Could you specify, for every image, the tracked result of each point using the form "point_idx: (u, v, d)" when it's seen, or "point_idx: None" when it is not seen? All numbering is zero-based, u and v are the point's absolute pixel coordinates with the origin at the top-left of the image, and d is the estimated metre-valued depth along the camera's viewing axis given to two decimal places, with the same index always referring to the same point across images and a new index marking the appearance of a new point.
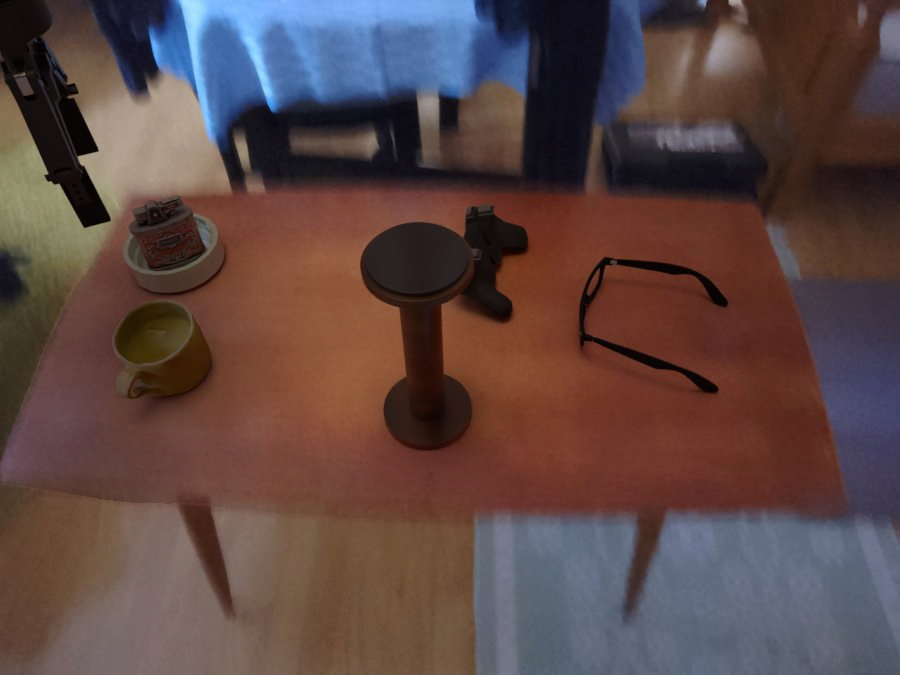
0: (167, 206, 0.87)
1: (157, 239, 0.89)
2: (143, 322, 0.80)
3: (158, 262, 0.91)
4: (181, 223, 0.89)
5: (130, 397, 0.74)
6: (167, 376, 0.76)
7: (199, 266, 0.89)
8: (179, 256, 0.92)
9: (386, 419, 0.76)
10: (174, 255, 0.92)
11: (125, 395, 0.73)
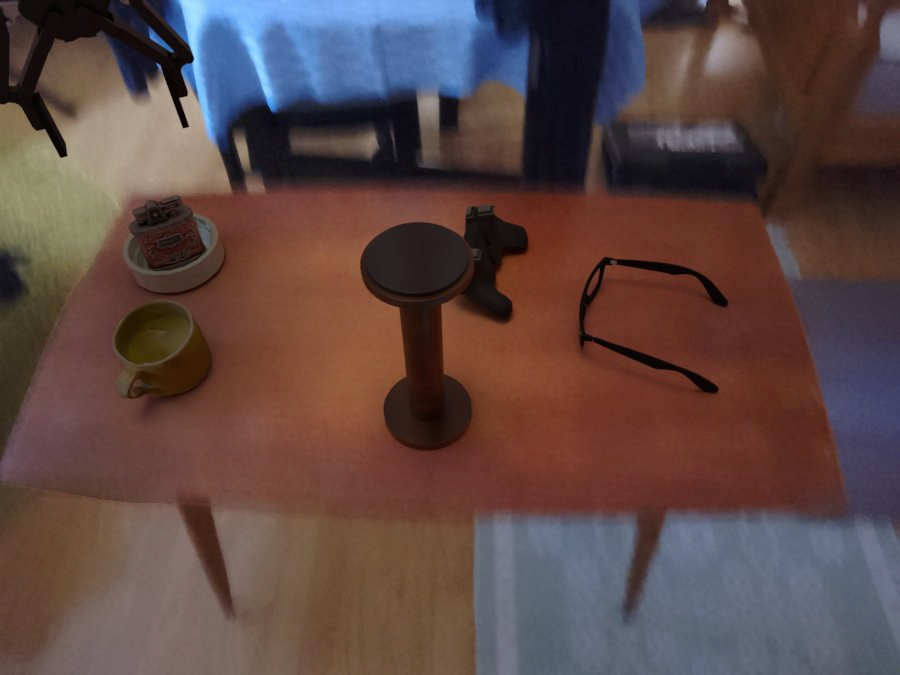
0: (167, 206, 0.87)
1: (157, 239, 0.89)
2: (143, 322, 0.80)
3: (158, 262, 0.91)
4: (181, 223, 0.89)
5: (130, 397, 0.74)
6: (167, 376, 0.76)
7: (199, 266, 0.89)
8: (179, 256, 0.92)
9: (386, 419, 0.76)
10: (174, 255, 0.92)
11: (125, 395, 0.73)
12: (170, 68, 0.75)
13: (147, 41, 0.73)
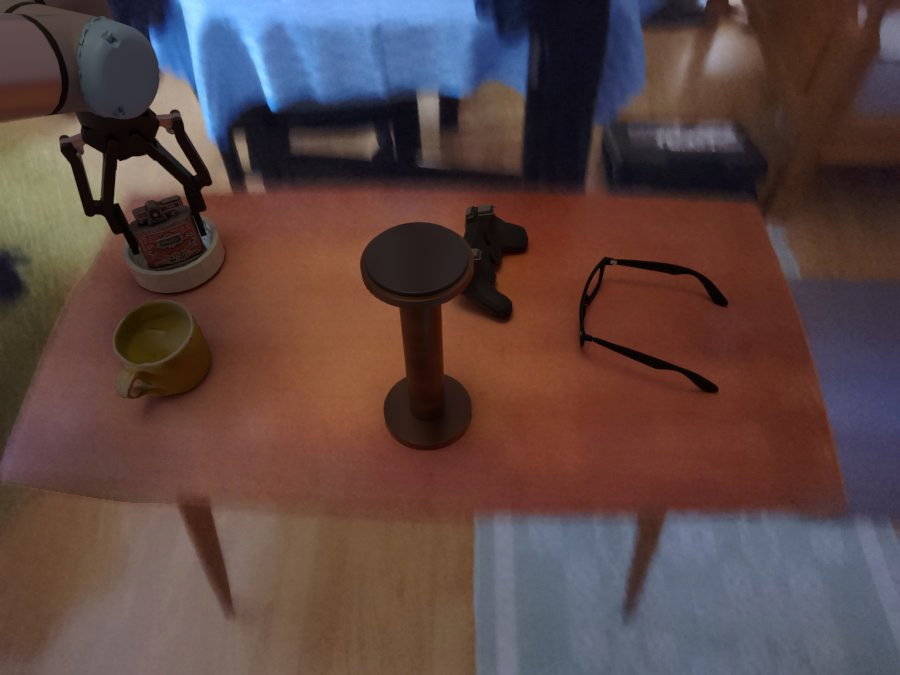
0: (167, 206, 0.87)
1: (157, 239, 0.89)
2: (143, 322, 0.80)
3: (158, 262, 0.91)
4: (181, 223, 0.89)
5: (130, 397, 0.74)
6: (167, 376, 0.76)
7: (199, 266, 0.89)
8: (179, 256, 0.92)
9: (386, 419, 0.76)
10: (174, 255, 0.92)
11: (125, 395, 0.73)
12: (191, 190, 0.86)
13: (179, 166, 0.84)
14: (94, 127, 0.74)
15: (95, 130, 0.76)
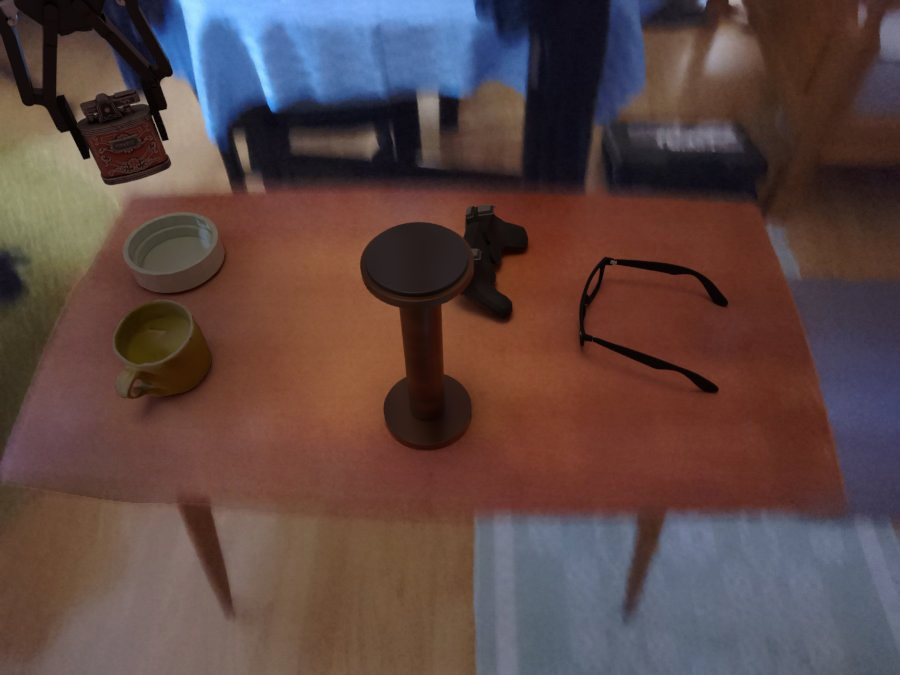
0: (121, 100, 0.76)
1: (111, 141, 0.77)
2: (143, 322, 0.80)
3: (112, 170, 0.80)
4: (138, 123, 0.77)
5: (130, 397, 0.74)
6: (167, 376, 0.76)
7: (199, 266, 0.89)
8: (137, 165, 0.80)
9: (386, 419, 0.76)
10: (131, 163, 0.80)
11: (125, 395, 0.73)
12: (149, 80, 0.75)
13: (133, 50, 0.73)
14: None
15: None
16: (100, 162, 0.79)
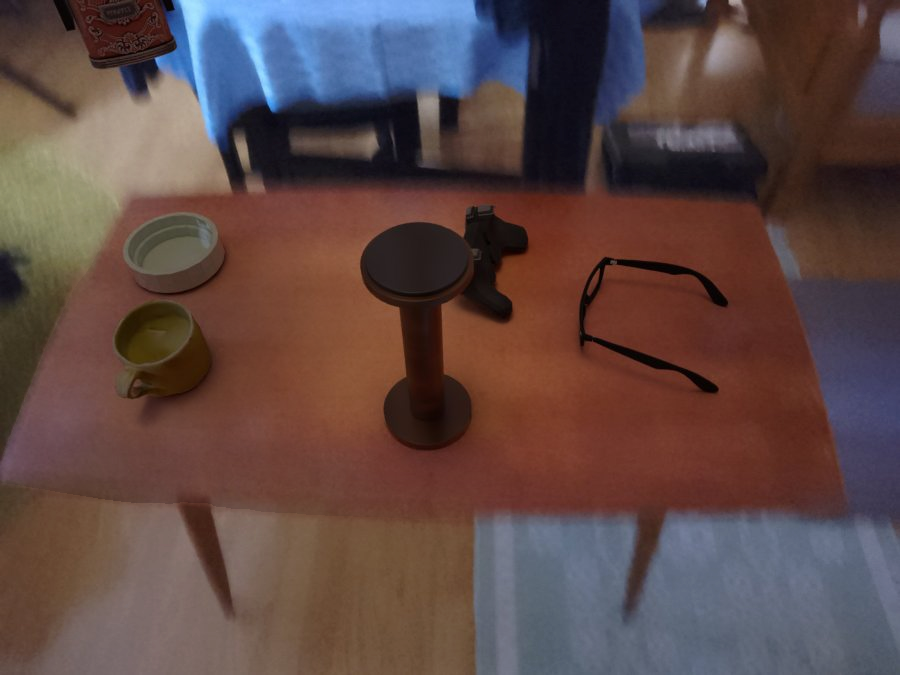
0: None
1: (101, 6, 0.60)
2: (143, 322, 0.80)
3: (103, 48, 0.63)
4: None
5: (130, 397, 0.74)
6: (167, 376, 0.76)
7: (199, 266, 0.89)
8: (135, 42, 0.64)
9: (386, 419, 0.76)
10: (127, 40, 0.63)
11: (125, 395, 0.73)
12: None
13: None
14: None
15: None
16: (88, 36, 0.62)
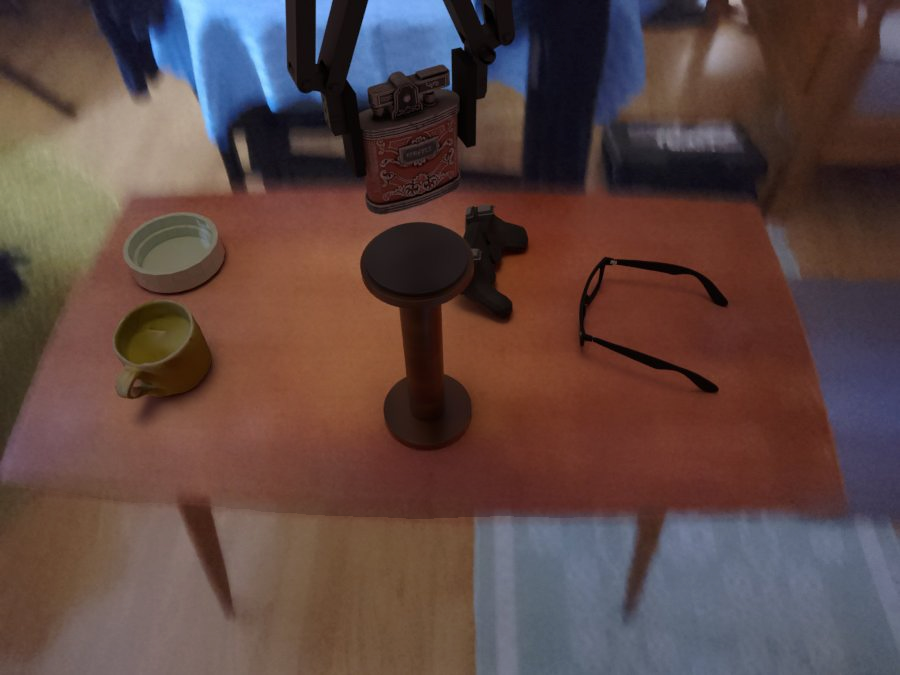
0: (427, 83, 0.47)
1: (402, 148, 0.49)
2: (143, 322, 0.80)
3: (390, 192, 0.52)
4: (444, 119, 0.49)
5: (130, 397, 0.74)
6: (167, 376, 0.76)
7: (199, 266, 0.89)
8: (424, 183, 0.52)
9: (386, 419, 0.76)
10: (417, 181, 0.52)
11: (125, 395, 0.73)
12: (479, 51, 0.46)
13: None
14: None
15: None
16: (376, 180, 0.51)
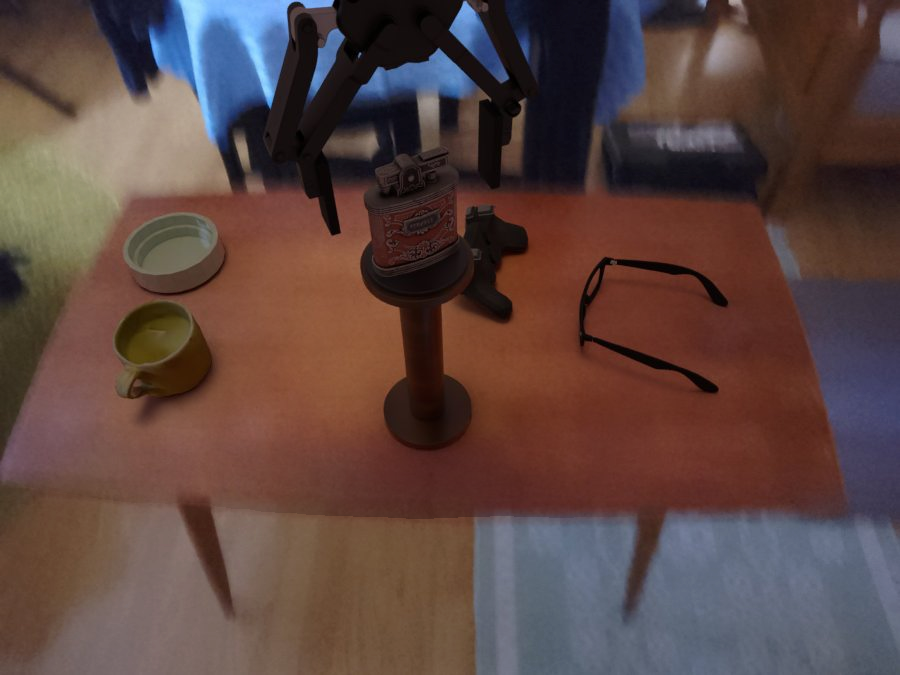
0: (429, 164, 0.52)
1: (406, 220, 0.54)
2: (143, 322, 0.80)
3: (395, 257, 0.57)
4: (444, 194, 0.54)
5: (130, 397, 0.74)
6: (167, 376, 0.76)
7: (199, 266, 0.89)
8: (426, 248, 0.57)
9: (386, 419, 0.76)
10: (420, 247, 0.57)
11: (125, 395, 0.73)
12: (505, 106, 0.50)
13: None
14: None
15: (365, 4, 0.41)
16: (383, 248, 0.56)
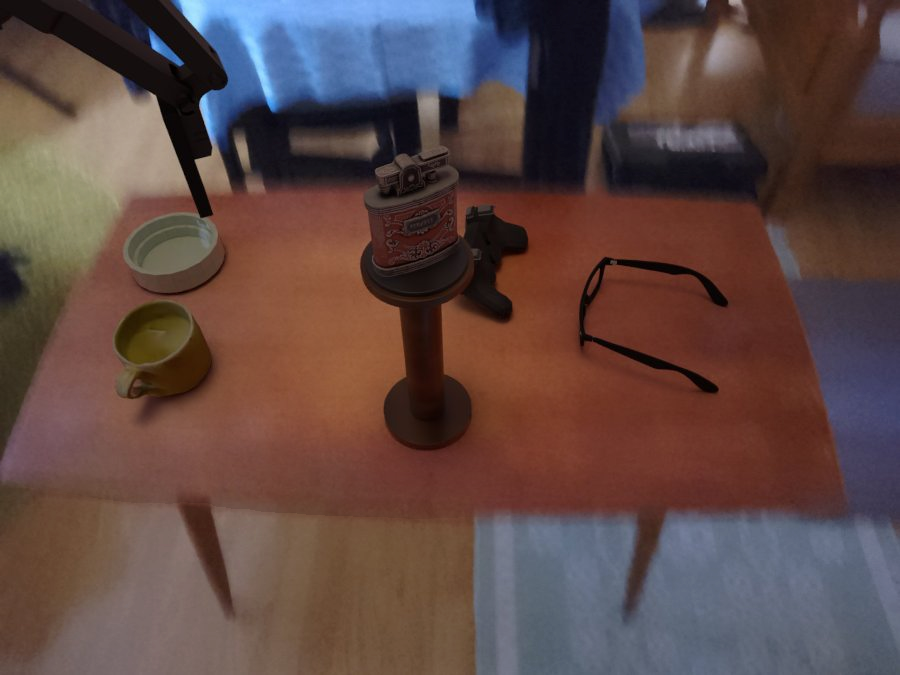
0: (429, 164, 0.52)
1: (406, 220, 0.54)
2: (143, 322, 0.80)
3: (395, 257, 0.57)
4: (444, 194, 0.54)
5: (130, 397, 0.74)
6: (167, 376, 0.76)
7: (199, 266, 0.89)
8: (426, 248, 0.57)
9: (386, 419, 0.76)
10: (420, 247, 0.57)
11: (125, 395, 0.73)
12: (176, 101, 0.34)
13: (126, 42, 0.32)
14: None
15: None
16: (383, 248, 0.56)
